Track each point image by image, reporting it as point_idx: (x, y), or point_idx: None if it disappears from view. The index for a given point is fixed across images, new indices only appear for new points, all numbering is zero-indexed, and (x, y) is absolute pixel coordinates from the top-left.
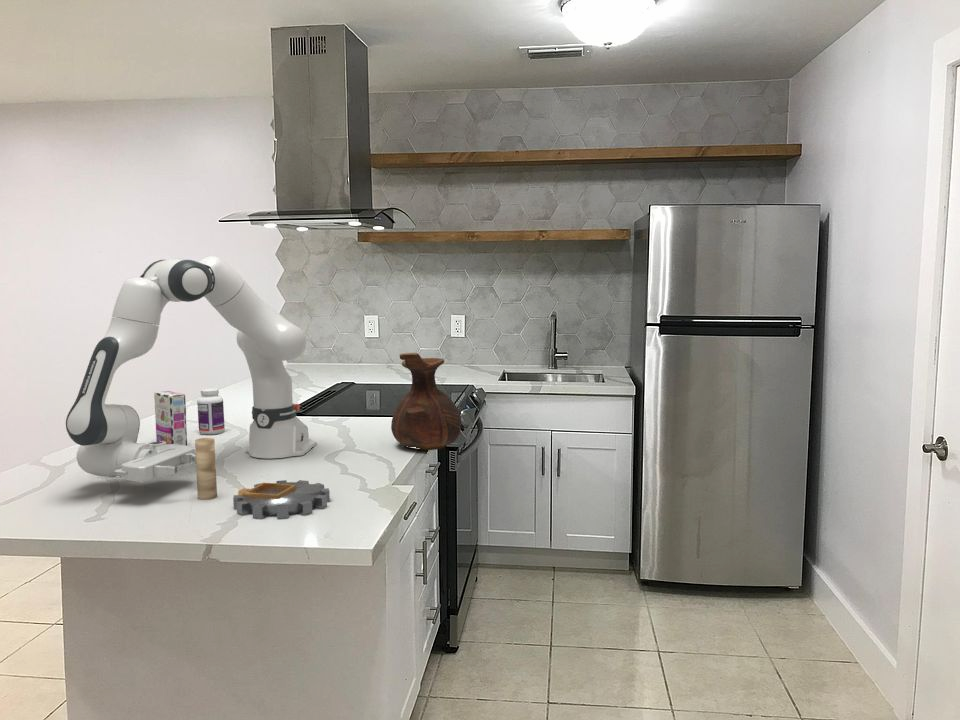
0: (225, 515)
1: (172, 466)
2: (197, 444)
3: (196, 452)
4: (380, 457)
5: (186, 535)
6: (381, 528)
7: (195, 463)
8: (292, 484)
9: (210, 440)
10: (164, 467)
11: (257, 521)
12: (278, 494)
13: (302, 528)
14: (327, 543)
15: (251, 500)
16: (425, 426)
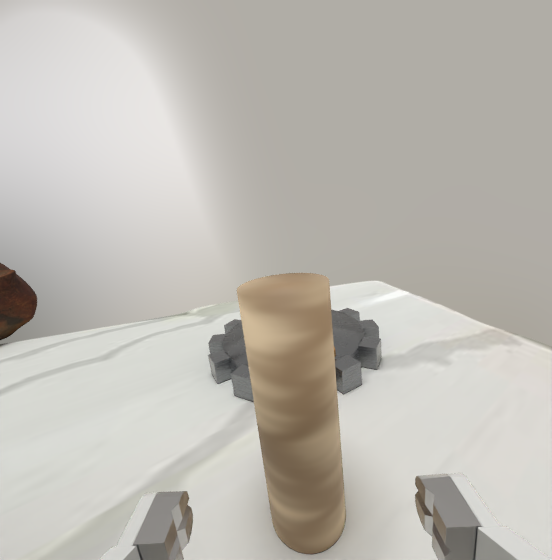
0: (402, 377)
1: (451, 492)
2: (329, 295)
3: (330, 340)
4: (11, 358)
5: (543, 368)
6: (329, 286)
7: (179, 550)
8: (237, 340)
9: (286, 275)
10: (527, 543)
11: (386, 336)
12: None
13: (369, 307)
14: (387, 289)
15: (351, 339)
16: (23, 293)
